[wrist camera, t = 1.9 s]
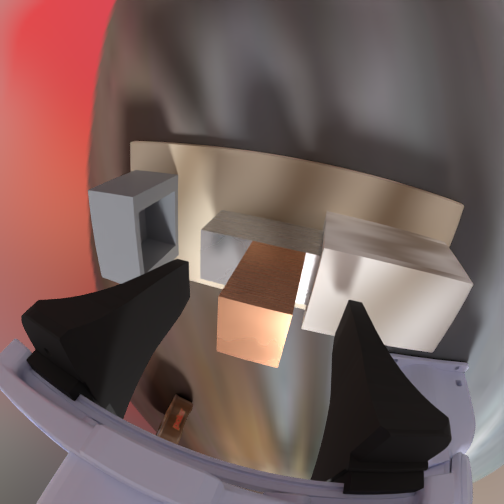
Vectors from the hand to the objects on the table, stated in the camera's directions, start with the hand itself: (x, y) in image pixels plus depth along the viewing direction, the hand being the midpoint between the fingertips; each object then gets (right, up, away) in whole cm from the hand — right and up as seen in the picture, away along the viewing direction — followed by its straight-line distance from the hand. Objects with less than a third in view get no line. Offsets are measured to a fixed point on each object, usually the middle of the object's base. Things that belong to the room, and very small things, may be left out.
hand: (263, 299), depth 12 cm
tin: (-11, -21, +23) cm, 32 cm away
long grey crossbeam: (+4, +2, +4) cm, 6 cm away
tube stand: (+1, +3, +6) cm, 7 cm away
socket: (-7, +5, +7) cm, 11 cm away
